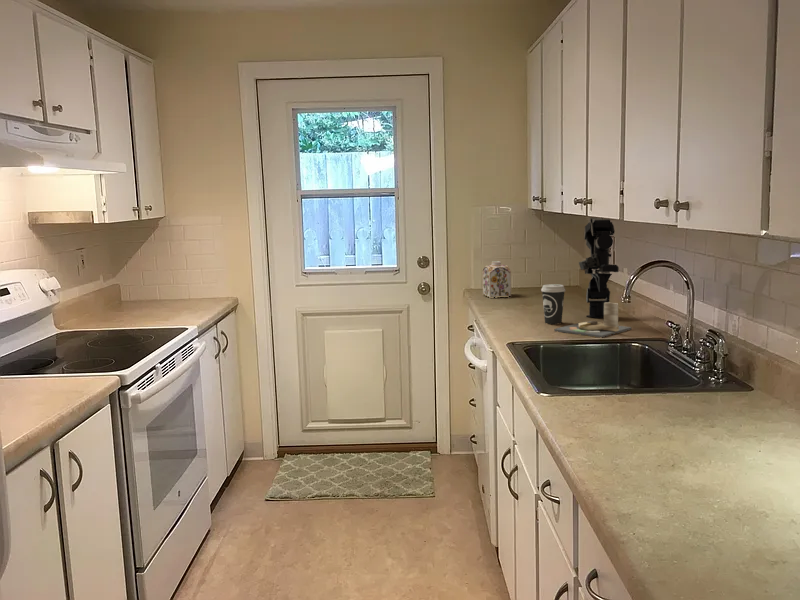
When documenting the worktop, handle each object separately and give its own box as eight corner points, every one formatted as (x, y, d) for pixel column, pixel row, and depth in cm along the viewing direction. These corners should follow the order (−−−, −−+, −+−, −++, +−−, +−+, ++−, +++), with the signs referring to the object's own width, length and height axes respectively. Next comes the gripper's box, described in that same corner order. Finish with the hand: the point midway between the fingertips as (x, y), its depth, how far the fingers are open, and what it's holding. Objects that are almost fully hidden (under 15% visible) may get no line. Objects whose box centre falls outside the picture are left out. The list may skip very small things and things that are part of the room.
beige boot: (569, 329, 254) (569, 302, 253) (587, 324, 263) (588, 298, 261) (606, 334, 243) (606, 306, 242) (624, 328, 252) (624, 301, 250)
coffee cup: (566, 325, 269) (566, 286, 267) (541, 324, 271) (540, 287, 269) (565, 320, 278) (565, 283, 276) (541, 320, 280) (540, 284, 278)
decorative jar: (482, 295, 357) (481, 261, 355) (503, 294, 359) (503, 260, 357) (489, 298, 345) (489, 263, 343) (511, 297, 348) (511, 262, 345)
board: (584, 323, 271) (584, 320, 271) (631, 329, 256) (631, 326, 256) (554, 331, 258) (554, 328, 257) (601, 337, 243) (601, 334, 243)
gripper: (572, 252, 275) (571, 291, 275) (591, 248, 256) (590, 290, 256) (599, 253, 276) (598, 292, 276) (619, 249, 258) (618, 291, 258)
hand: (600, 291), depth 267 cm, fingers closed
